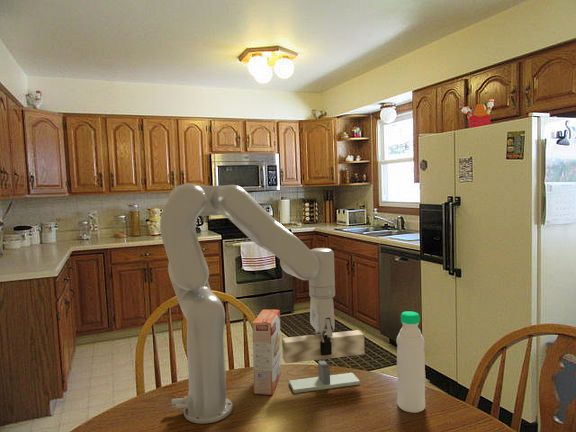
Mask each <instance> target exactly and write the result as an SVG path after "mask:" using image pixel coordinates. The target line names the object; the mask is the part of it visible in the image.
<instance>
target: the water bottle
mask: <svg viewBox="0 0 576 432" xmlns="http://www.w3.org/2000/svg"><path fill="white" fill-rule="evenodd" d="M420 320H421V317H420V314H419V313H418V312H415V311H403V312H401V314H400V323H401V324H402V327H401V328H400V330H399V332H398V335H397V336H396V342H395V343H396V345H397V346H396V374H397V375H396V376H397V381H396V386H397V388H396V389H397V395H396V397H397V398H396V399H397V400H396V401H397V406H398V408H399V409H401V410H402V411H404V412H407V413H410V414H411V413H413V414H416V413H417V414H418V413H420V412H421V413H422V411H424V410H425V408H426V395H425V393H426V384H425V377H426V376H425V374H426V364H425V363H426V358H425V343H426V342H425V338H424V336H423V334H422V331H421V329H420V328H419V324H420Z"/></svg>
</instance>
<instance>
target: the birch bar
mask: <svg viewBox="0 0 576 432" xmlns="http://www.w3.org/2000/svg"><path fill="white" fill-rule="evenodd" d="M326 334H327V333H325V334H324V336H325V335H326ZM332 335H333V336H332V337H331V339H332V341H331V345H332V354H331V355H324V356H322V355H321V349H320V342H322V341H321V334H316V333H315V334H308V335H297V336H291V337H290V336H289V337H282V338H281V341H282V345H281V347H282V349H281V350H282V359H283V361H284V363H285V364H294V363H299V362H311V361H318V360H319V361H320V360H326V359H327V360H328V359H335V358H342V357H352V356H360V355H365V352H366V351H365V333H363V332H362V331H361V330H360V329H355V330H347V331H345V330H344V331H339V332H338V331H336V332H335V331H334V332H332Z"/></svg>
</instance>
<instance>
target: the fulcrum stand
mask: <svg viewBox="0 0 576 432" xmlns="http://www.w3.org/2000/svg"><path fill="white" fill-rule="evenodd" d="M317 361H318V360H317ZM317 363H318V376H315V377H307V378H300V379H299V378H298V379H292V380H291V379H290V380H288V383H289V386H290V388H291V390H292V393H293V394H298V393H304V392H311V391H313V392H314V391H319V390H320V391H321V390H326V389H334V388H343V387H344V388H345V387H350V386H357V385H361V381H360V379H359V378H358V377H357V375H355V374H354V373H353V372H348V373H347V372H345V373H338V374H331V371H330V370H331V369H330V368H331V366H330V365H329V364H328V363H327V362H326V361H325V360H319V361H318V362H317Z"/></svg>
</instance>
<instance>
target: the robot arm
mask: <svg viewBox="0 0 576 432" xmlns="http://www.w3.org/2000/svg"><path fill="white" fill-rule="evenodd" d="M200 216H202V217H203V216H205V217H206V216H209V217H210V216H225V217H226V218H227V219H228V220H229V221H230V222H231V223H233V224H234V225H235V226H236V227H237V228H238V230H240V231H241V232H242V233H243V234H244V235H245V236H246V237H248V239H249V240H250V241H251V242H253V243H254V244H256V245H257V246H258V247H259V248H261V249H264V250H266V251H267V252H269V253H271V254H272V255H274V256H275V257H276V258H278V259H279V265H280V267H281V269H282V270H283V271H284V273H286V274H288V275H290V276H291V277H292V276H293V277H295V278H297V279H299V280H302V281H308V290H309V291H308V292H309V297H310V303H309V304H310V305H309V306H310V307H309V308H310V309H309V311H310V312H309V323H310V325H311V326H312V328H313V329H314V330H315V332H314V333H315V335H316V334H321V341H322V342H320V349H321V355H322V356H324V355H331V354H332V345H331V341H332V339H331V337H332V336H333V335H332V333H333V332H335V308H334V306H335V305H334V299H333V298H335V296H336V280H335V277H336V276H335V253H334V251H333V250H332V249H331V248H328V247H316V248H315V247H314V248H312V249H310V248H309V247H308V246H307V245H306V244H305V243H304V242H303V241H302V240H301V239H299V237H297V236H296V235H294V234H293V233H292V232H291V231H290V230H289V229H287V228H286V227H285V226H284V225H282V224H281V223H280V222H279V221H277V220H276V219H275V218H274V217H273V216H272V215H271V214H269V212H268V211H267V210H266V209H265V208H264V207H262V205H261V204H260V203H259V202H258V201H257V200H255V199H254V197H253V196H251V194H250V193H248V191H246V189H244V188H243V187H241V186H240V185H238V184H237V185H236V184H227V185H226V184H224V185H198V184H195V183H184V184H178V185H177V186H175V187H174V188H173V189H172V190H171V191H170V193H169V195H168V200H167V202H166V203H165V205H164V207H163V210H162V212H161V215H160V221H159V232H160V236H161V240H162V243H163V246H164V247H163V248H164V250H165V254H166V256H167V259H168V265H167V271H168V275H169V276H168V277H169V279H170V282H171V285H172V288H173V291H174V294H175V296H176V299H177V302H178V304H179V307H180V309H181V311H182V314H183V315H184V318H185V319H186V327H187V328H186V330H187V331H186V354H187V355H186V356H187V372H188V374H187V375H188V376H187V379H188V392H187V395H184V396H183V397H180V398H179V397H177V398H172V399H171V408H173V407H175V410H176V411H180V410H183V416H184V418H185V419H186V420H187V421H189V422H191V423H194V424H201V425H202V424H212V423H216V422H219V421H221V420H223V419H225V418H227V417H228V416H229V415H230V414H231V413H232V411H233V402H232V401H231V400H230V399H229V398H227V385H226V383H227V382H226V380H227V379H226V359H225V356H226V355H225V327H226V326H225V325H226V312H225V306H224V305H223V301H222V300H220V298H219V297H218V296H217V295H216V294H215V293H214V292H212V289H211V286H210V283H209V278H210V269H209V266H208V263H207V261H206V259H205V255H204V253H203V250H202V247H201V244H200V241H199V237H198V234H197V230H196V229H197V228H196V225H197V224H196V223H197V220H198V218H199V217H200ZM326 333H327V334H326ZM324 334H326V335H325V336H324Z"/></svg>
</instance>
